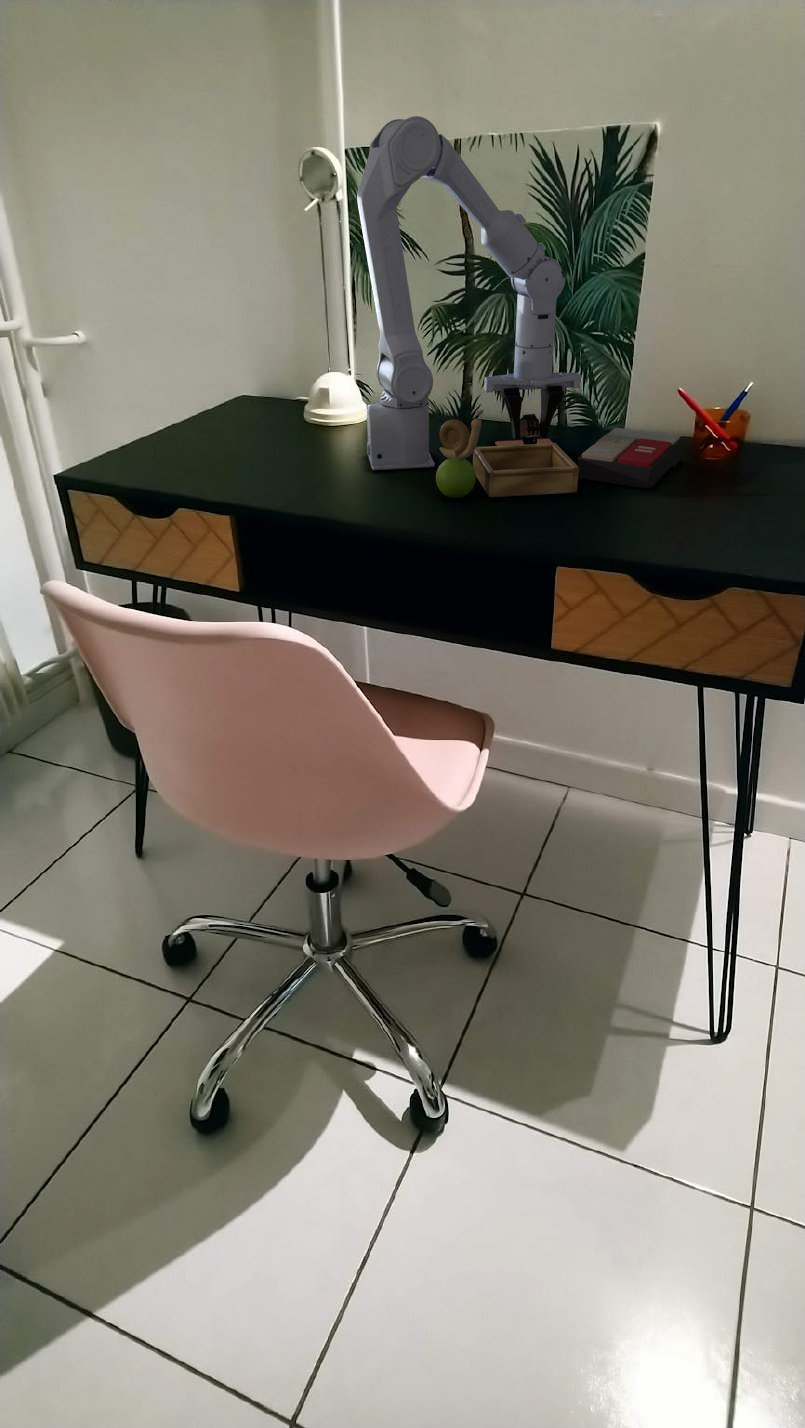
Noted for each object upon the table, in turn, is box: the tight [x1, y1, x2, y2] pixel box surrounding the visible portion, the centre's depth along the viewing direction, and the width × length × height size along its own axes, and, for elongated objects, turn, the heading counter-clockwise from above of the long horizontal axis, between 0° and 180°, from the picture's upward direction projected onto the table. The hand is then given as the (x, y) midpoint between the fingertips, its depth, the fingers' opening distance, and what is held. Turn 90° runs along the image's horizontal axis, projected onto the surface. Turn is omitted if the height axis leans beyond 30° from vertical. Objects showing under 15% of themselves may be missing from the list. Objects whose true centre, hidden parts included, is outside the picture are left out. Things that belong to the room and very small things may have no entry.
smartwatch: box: [520, 413, 540, 445], centre depth 140 cm, size 4×5×5 cm
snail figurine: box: [435, 409, 484, 499], centre depth 119 cm, size 5×6×12 cm
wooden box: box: [472, 442, 579, 498], centre depth 127 cm, size 12×12×4 cm
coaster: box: [494, 438, 554, 446], centre depth 141 cm, size 9×9×1 cm
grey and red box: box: [576, 427, 684, 490], centre depth 130 cm, size 11×4×15 cm
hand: (529, 437), depth 140 cm, fingers closed on smartwatch, 4 cm apart
